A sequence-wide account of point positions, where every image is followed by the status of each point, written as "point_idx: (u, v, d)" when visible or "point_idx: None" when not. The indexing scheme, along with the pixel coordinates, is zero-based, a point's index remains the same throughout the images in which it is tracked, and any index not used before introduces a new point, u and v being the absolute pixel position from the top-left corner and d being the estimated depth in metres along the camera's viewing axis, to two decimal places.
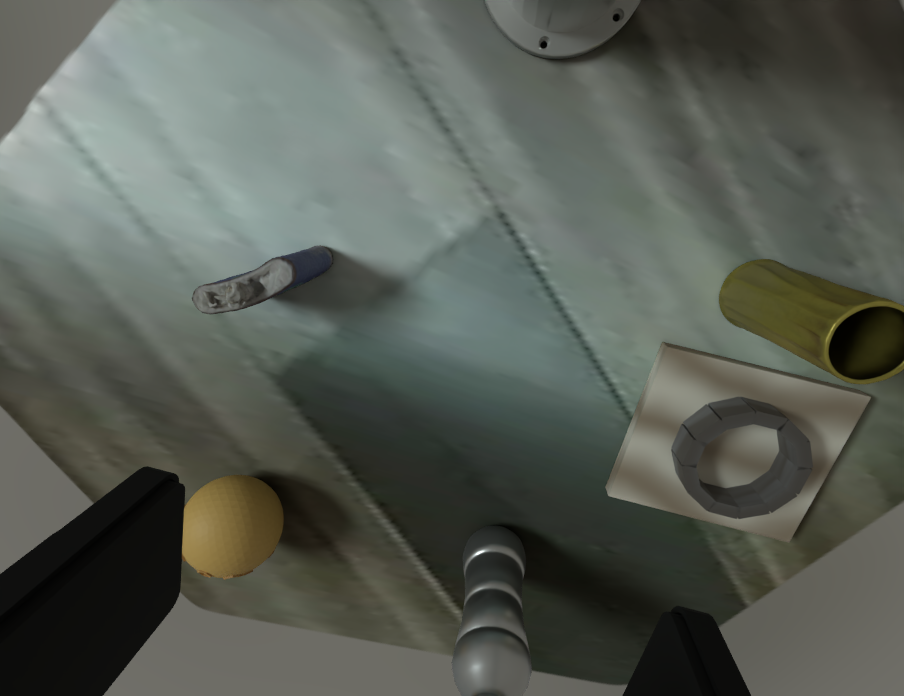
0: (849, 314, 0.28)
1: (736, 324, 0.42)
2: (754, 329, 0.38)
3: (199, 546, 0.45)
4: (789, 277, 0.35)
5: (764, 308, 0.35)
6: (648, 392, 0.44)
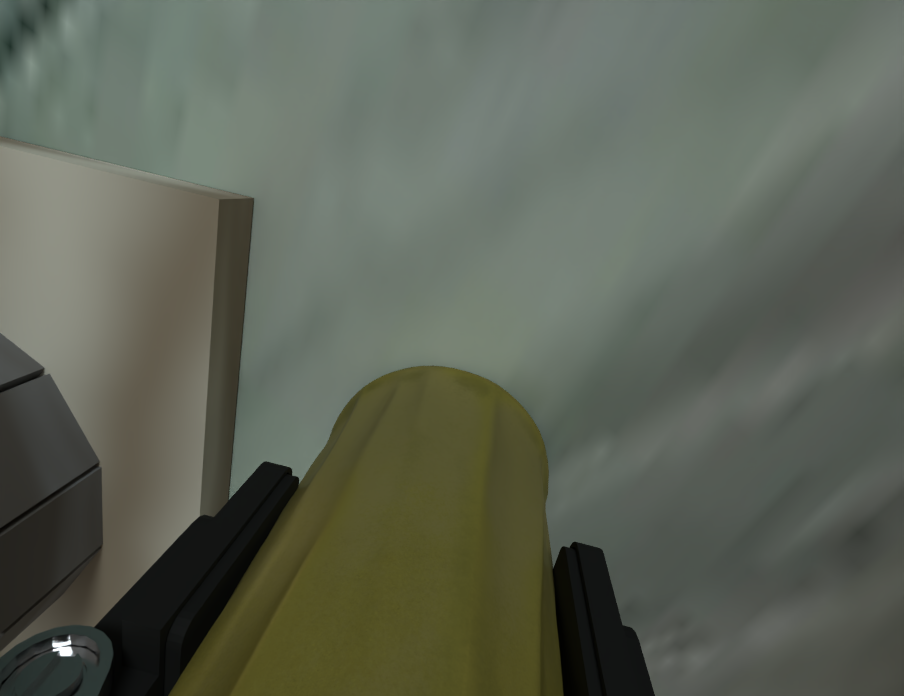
0: None
1: (337, 426, 0.13)
2: (293, 514, 0.08)
3: None
4: (547, 641, 0.07)
5: (387, 583, 0.06)
6: (22, 150, 0.11)
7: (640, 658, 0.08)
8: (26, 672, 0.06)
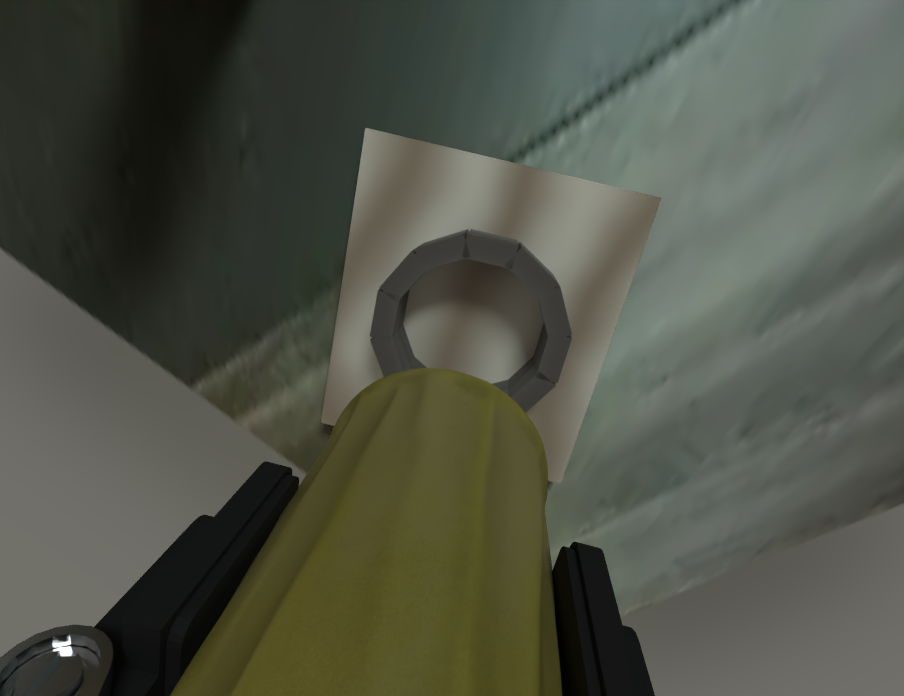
0: None
1: (336, 428, 0.13)
2: (292, 517, 0.08)
3: None
4: (546, 645, 0.07)
5: (386, 588, 0.06)
6: (574, 177, 0.26)
7: (641, 658, 0.08)
8: (26, 672, 0.06)
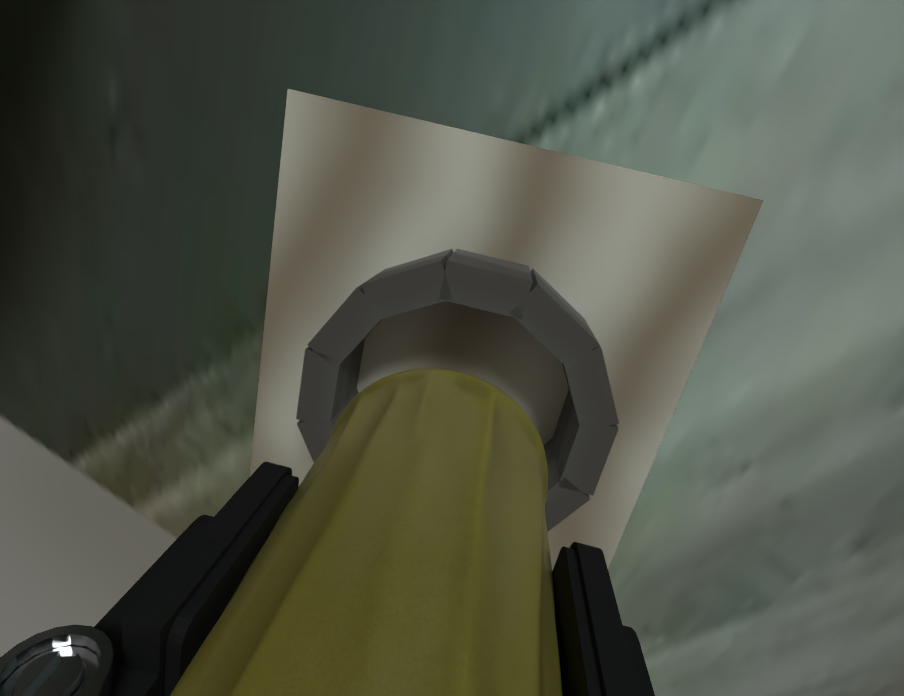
0: None
1: (336, 429, 0.13)
2: (292, 517, 0.08)
3: None
4: (546, 646, 0.07)
5: (385, 589, 0.06)
6: (621, 167, 0.16)
7: (641, 658, 0.08)
8: (26, 672, 0.06)
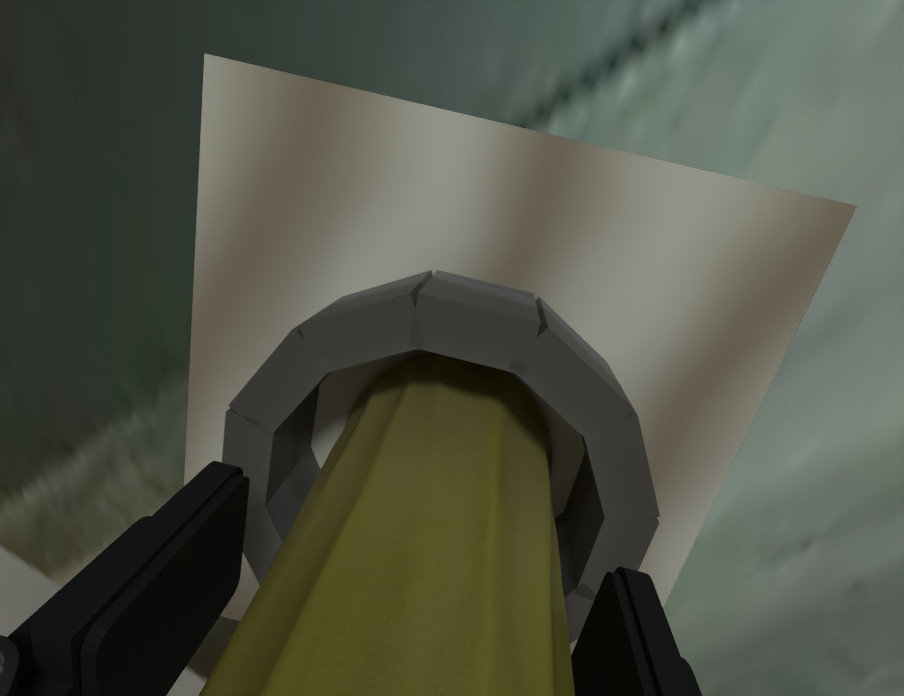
0: None
1: (353, 412, 0.14)
2: (323, 490, 0.09)
3: None
4: (556, 603, 0.08)
5: (417, 548, 0.07)
6: (660, 160, 0.12)
7: (697, 692, 0.08)
8: None
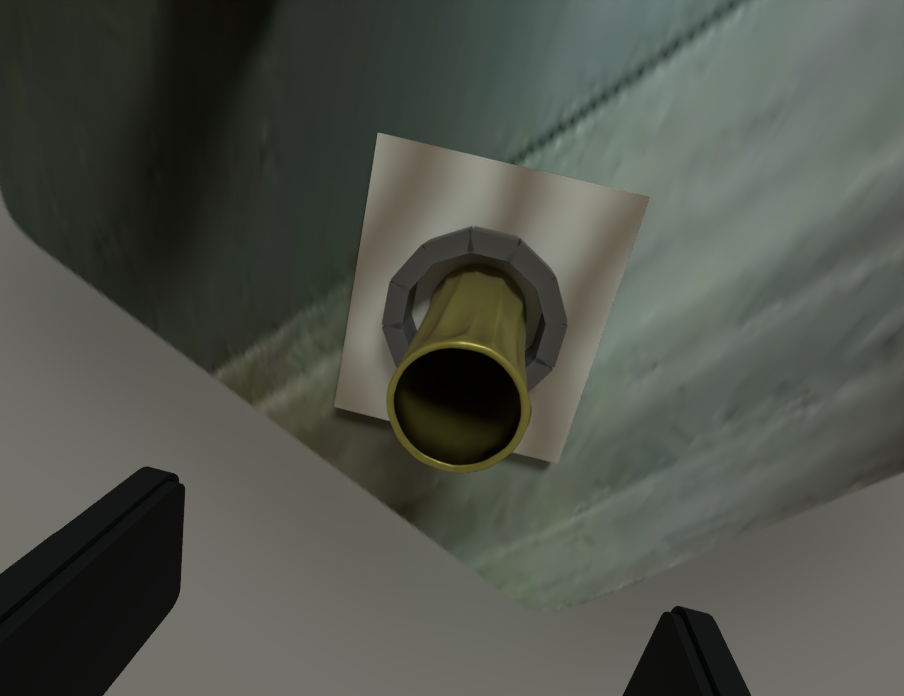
0: (508, 367, 0.17)
1: (436, 291, 0.30)
2: (439, 295, 0.25)
3: None
4: (521, 325, 0.24)
5: (478, 294, 0.23)
6: (569, 178, 0.28)
7: None
8: None
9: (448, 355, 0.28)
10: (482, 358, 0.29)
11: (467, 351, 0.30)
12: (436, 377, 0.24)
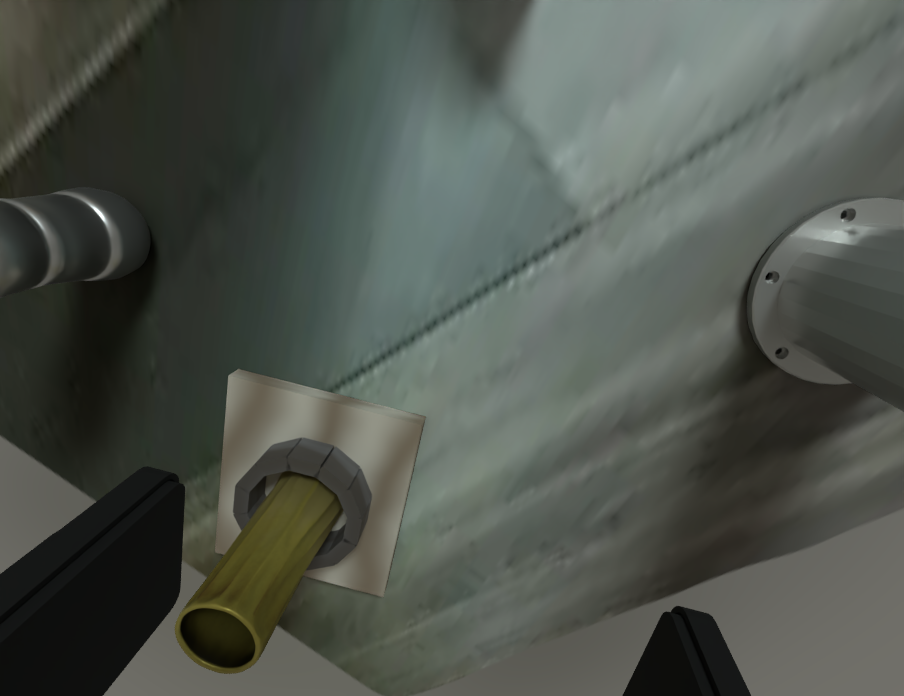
0: (241, 620, 0.27)
1: (277, 481, 0.41)
2: (259, 508, 0.36)
3: None
4: (311, 535, 0.35)
5: (274, 521, 0.34)
6: (366, 409, 0.39)
7: None
8: None
9: None
10: None
11: None
12: None
